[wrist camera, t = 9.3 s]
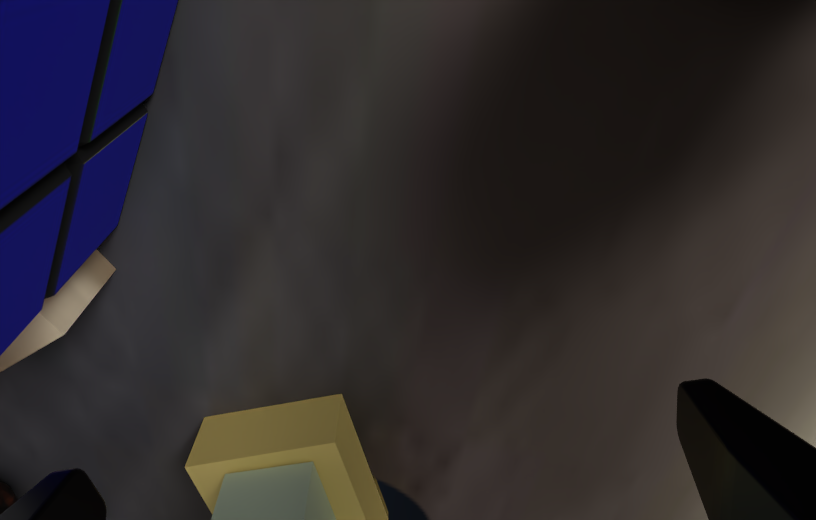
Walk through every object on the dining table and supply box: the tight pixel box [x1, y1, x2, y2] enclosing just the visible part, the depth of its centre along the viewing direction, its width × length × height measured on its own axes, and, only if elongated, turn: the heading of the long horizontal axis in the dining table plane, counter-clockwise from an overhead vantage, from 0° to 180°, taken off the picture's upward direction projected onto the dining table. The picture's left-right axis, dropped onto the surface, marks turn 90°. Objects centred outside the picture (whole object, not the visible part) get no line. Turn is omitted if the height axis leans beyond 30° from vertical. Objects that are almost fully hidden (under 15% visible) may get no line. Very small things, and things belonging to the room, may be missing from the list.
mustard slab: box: [185, 394, 388, 520], centre depth 27 cm, size 6×8×3 cm
